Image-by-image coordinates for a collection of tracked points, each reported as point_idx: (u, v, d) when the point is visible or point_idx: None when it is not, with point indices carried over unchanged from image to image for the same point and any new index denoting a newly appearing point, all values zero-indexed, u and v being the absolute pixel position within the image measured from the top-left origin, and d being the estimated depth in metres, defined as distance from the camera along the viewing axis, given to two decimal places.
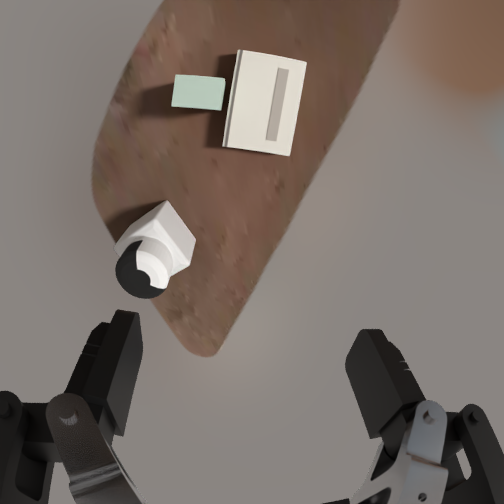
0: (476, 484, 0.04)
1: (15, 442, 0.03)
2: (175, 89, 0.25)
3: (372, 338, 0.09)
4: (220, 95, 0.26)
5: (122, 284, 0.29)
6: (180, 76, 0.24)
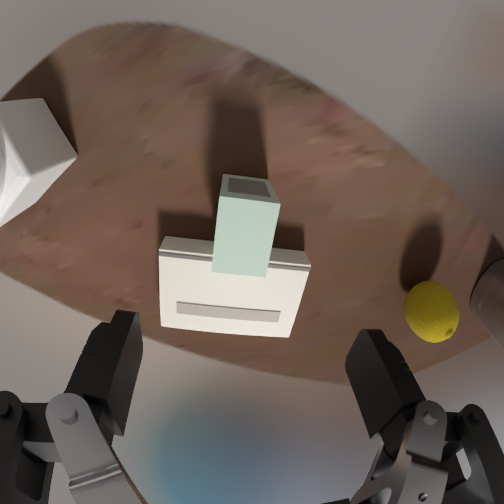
0: (476, 484, 0.04)
1: (15, 442, 0.03)
2: (251, 203, 0.16)
3: (372, 338, 0.09)
4: (236, 272, 0.18)
5: None
6: (275, 211, 0.17)
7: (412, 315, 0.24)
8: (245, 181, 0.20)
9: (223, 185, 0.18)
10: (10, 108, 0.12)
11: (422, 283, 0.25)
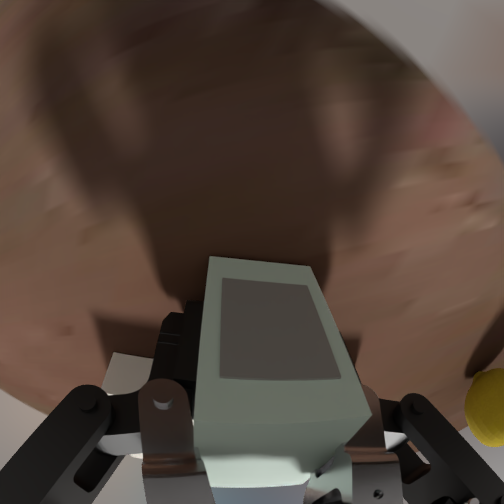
0: (441, 475, 0.04)
1: (91, 440, 0.04)
2: (293, 427, 0.05)
3: None
4: (245, 486, 0.07)
5: None
6: (354, 428, 0.05)
7: (477, 420, 0.13)
8: (263, 293, 0.08)
9: (207, 329, 0.07)
10: None
11: (494, 376, 0.14)
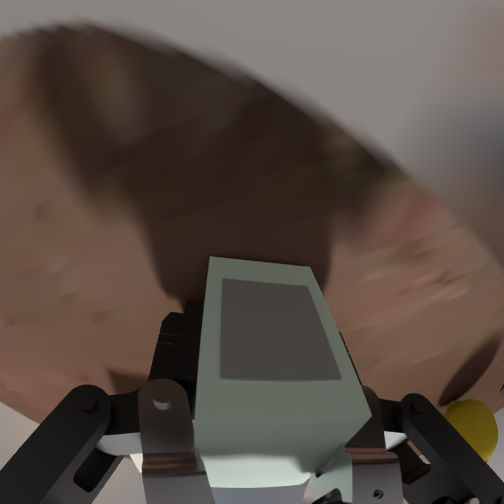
0: (441, 476, 0.04)
1: (90, 440, 0.04)
2: (294, 427, 0.05)
3: None
4: (245, 486, 0.07)
5: None
6: (354, 428, 0.05)
7: None
8: (264, 294, 0.08)
9: (208, 330, 0.07)
10: None
11: (465, 408, 0.15)
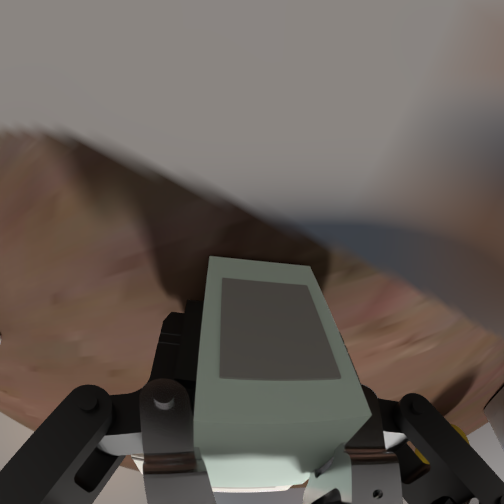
0: (440, 476, 0.04)
1: (92, 440, 0.04)
2: (293, 427, 0.05)
3: None
4: (245, 486, 0.07)
5: None
6: (354, 428, 0.05)
7: None
8: (263, 293, 0.08)
9: (207, 329, 0.07)
10: None
11: None
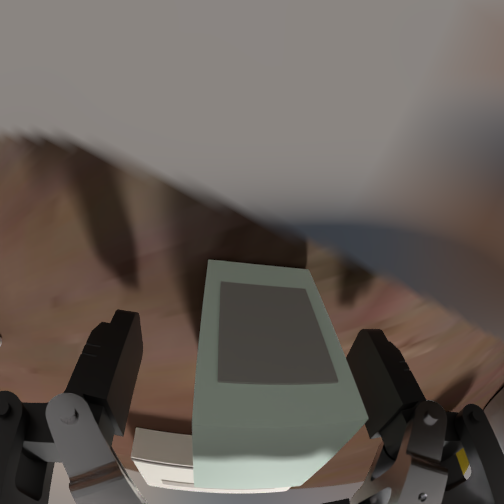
0: (476, 484, 0.04)
1: (15, 442, 0.03)
2: (290, 430, 0.05)
3: (372, 338, 0.09)
4: (244, 487, 0.07)
5: None
6: (351, 431, 0.05)
7: None
8: (262, 297, 0.08)
9: (205, 333, 0.07)
10: None
11: None
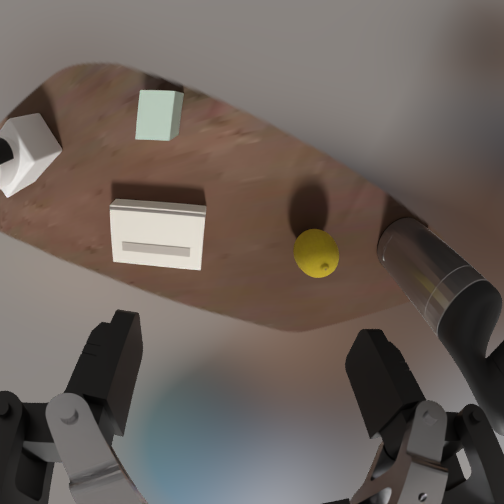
0: (476, 484, 0.04)
1: (15, 442, 0.03)
2: (158, 92, 0.23)
3: (372, 338, 0.09)
4: (150, 138, 0.25)
5: None
6: (172, 95, 0.23)
7: (295, 254, 0.35)
8: None
9: None
10: (20, 121, 0.22)
11: (306, 230, 0.36)
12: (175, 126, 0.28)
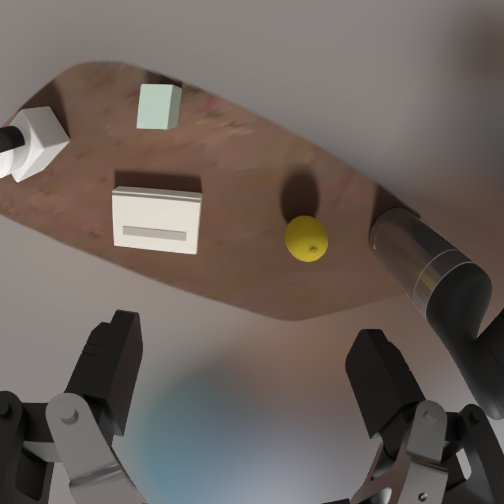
0: (476, 484, 0.04)
1: (15, 442, 0.03)
2: (157, 86, 0.25)
3: (372, 338, 0.09)
4: (150, 127, 0.27)
5: None
6: (170, 89, 0.26)
7: (285, 238, 0.37)
8: None
9: None
10: (32, 112, 0.25)
11: (297, 217, 0.38)
12: (173, 117, 0.30)
